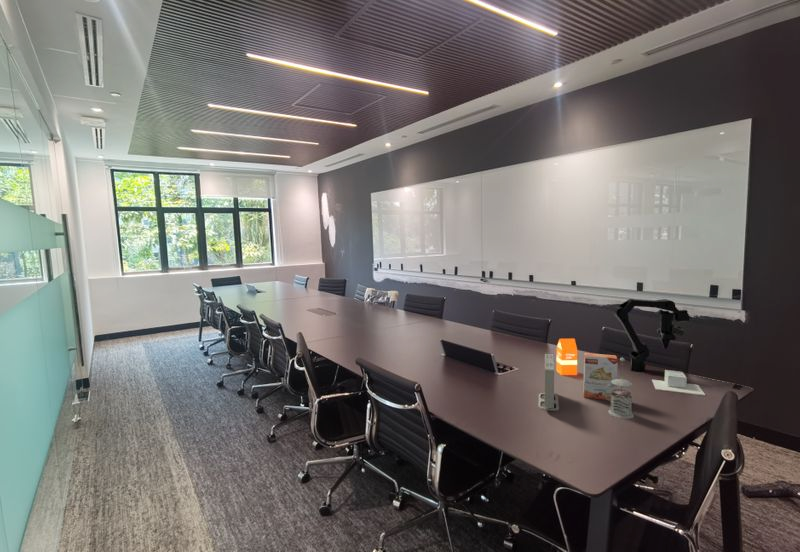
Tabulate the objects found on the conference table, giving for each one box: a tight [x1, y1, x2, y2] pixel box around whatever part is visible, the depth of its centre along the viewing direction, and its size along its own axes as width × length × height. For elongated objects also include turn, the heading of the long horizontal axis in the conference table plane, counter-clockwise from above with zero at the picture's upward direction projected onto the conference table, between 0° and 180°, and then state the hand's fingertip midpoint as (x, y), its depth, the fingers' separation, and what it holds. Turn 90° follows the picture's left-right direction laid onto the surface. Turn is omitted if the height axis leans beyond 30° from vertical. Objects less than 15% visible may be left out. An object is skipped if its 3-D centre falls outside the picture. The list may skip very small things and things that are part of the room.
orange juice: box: [555, 338, 578, 376], centre depth 223 cm, size 8×9×20 cm
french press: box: [604, 357, 635, 420], centre depth 170 cm, size 10×12×25 cm
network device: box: [537, 353, 560, 411], centre depth 183 cm, size 26×9×20 cm, turn 160°
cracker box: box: [582, 352, 619, 401], centre depth 187 cm, size 14×6×21 cm, turn 68°
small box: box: [663, 369, 688, 388], centre depth 202 cm, size 8×6×10 cm
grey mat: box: [651, 379, 706, 397], centre depth 198 cm, size 20×14×1 cm
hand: (665, 348), depth 222 cm, fingers closed
